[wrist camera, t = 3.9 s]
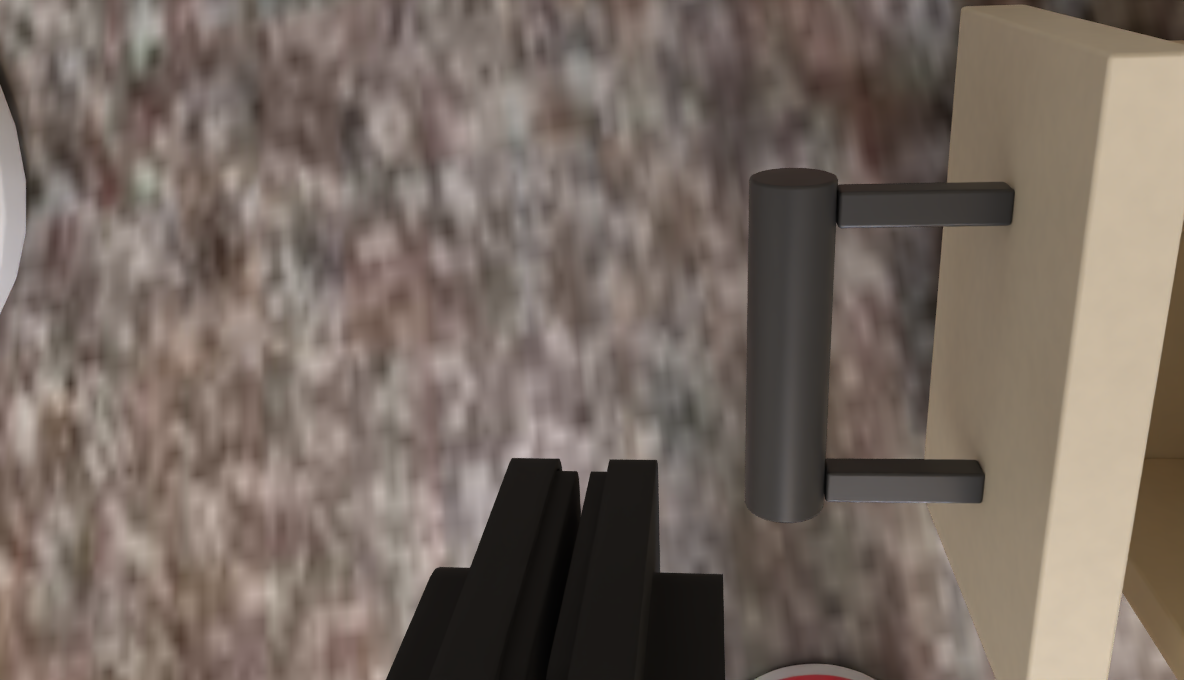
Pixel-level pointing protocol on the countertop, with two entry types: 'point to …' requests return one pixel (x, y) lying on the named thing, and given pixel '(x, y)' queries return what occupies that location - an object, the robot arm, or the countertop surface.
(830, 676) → the pill bottle
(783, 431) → the drawer
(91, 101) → the countertop surface
